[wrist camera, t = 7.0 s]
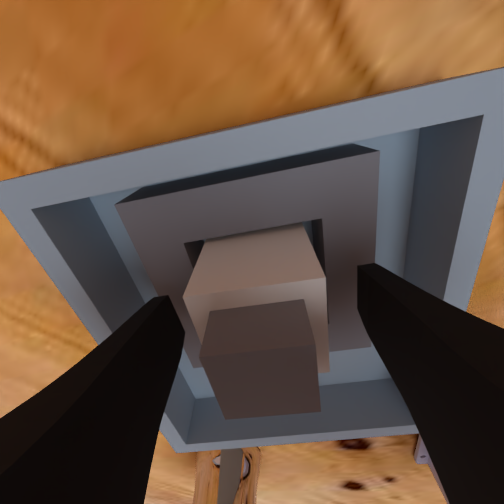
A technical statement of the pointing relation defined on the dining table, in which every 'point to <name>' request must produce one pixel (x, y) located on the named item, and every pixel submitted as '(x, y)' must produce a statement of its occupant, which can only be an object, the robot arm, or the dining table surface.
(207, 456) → the beer glass
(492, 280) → the dining table surface
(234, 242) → the plug
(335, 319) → the inlet box
